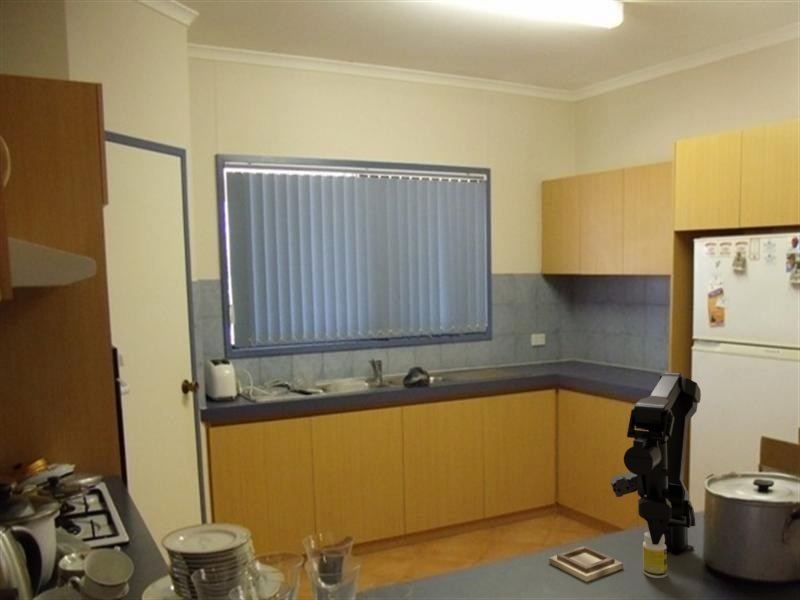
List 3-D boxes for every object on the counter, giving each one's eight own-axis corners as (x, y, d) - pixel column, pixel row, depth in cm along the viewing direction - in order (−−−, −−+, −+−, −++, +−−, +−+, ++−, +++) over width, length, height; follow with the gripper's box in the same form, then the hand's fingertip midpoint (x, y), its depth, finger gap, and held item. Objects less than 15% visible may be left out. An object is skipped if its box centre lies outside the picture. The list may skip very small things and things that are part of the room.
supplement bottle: (669, 579, 135) (668, 539, 135) (645, 578, 136) (644, 538, 136) (664, 569, 140) (663, 530, 140) (641, 568, 141) (640, 529, 141)
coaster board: (584, 551, 151) (584, 542, 150) (622, 568, 141) (622, 559, 141) (549, 563, 145) (548, 554, 145) (586, 581, 135) (586, 572, 135)
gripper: (613, 448, 149) (615, 516, 149) (611, 473, 131) (613, 549, 132) (666, 451, 145) (667, 520, 146) (671, 476, 128) (673, 555, 128)
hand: (654, 535), depth 138 cm, fingers open, 9 cm apart
